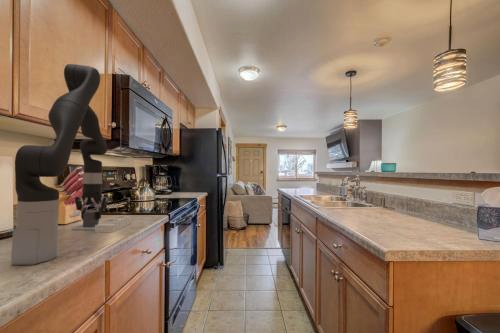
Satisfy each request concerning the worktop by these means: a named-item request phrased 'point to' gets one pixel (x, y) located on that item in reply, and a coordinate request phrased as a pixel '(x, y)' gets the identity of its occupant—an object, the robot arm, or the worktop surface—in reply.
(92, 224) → the charger
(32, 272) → the worktop surface
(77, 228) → the trivet
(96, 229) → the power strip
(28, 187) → the robot arm
